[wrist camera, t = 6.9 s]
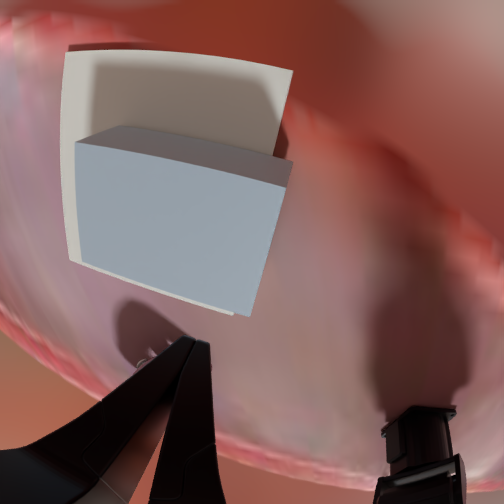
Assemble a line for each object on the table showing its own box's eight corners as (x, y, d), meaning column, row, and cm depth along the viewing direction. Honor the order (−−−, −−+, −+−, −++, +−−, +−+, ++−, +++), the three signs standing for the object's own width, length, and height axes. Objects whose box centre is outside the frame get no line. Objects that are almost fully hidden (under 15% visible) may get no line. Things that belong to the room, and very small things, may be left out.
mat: (293, 71, 13) (292, 70, 13) (234, 311, 22) (233, 315, 22) (70, 51, 14) (65, 52, 14) (73, 256, 23) (69, 260, 22)
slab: (286, 187, 12) (74, 142, 12) (249, 317, 16) (82, 261, 16) (293, 160, 15) (121, 124, 16) (263, 269, 19) (118, 227, 20)
